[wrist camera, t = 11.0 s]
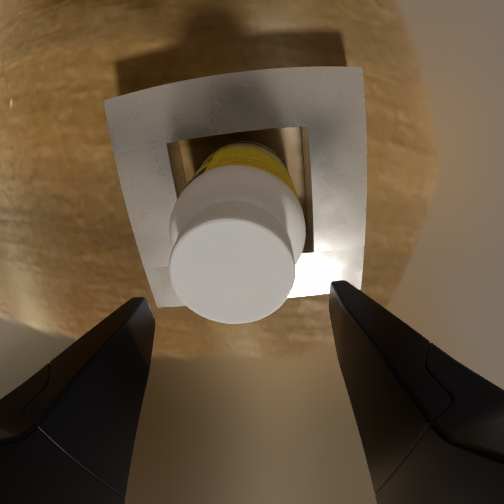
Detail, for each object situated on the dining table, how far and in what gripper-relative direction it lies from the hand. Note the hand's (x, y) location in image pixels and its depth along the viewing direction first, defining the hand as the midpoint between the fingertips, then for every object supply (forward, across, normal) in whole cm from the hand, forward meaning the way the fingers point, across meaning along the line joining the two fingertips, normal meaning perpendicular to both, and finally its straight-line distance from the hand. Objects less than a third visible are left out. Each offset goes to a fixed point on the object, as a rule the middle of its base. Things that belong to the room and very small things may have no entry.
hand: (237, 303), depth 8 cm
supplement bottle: (+11, 0, 0) cm, 11 cm away
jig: (+11, 0, 0) cm, 11 cm away
